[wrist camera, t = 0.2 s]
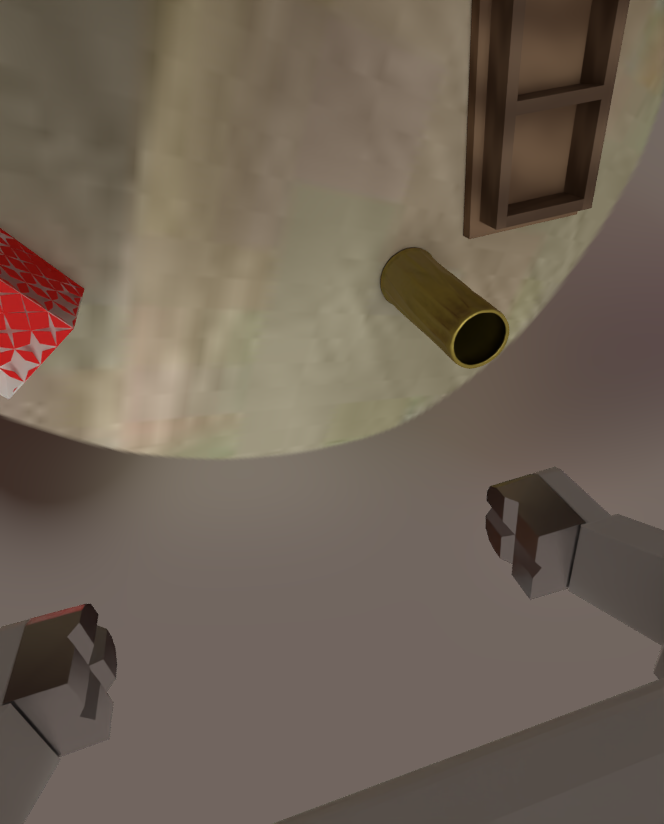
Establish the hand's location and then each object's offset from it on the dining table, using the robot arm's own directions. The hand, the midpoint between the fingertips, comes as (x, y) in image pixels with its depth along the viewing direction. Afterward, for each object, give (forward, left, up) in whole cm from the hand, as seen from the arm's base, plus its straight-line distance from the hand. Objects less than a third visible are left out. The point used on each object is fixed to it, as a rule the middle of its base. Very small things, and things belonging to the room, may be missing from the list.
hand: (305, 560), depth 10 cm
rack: (-1, +31, -39) cm, 50 cm away
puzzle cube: (+6, -16, -39) cm, 43 cm away
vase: (+13, +19, -39) cm, 45 cm away
